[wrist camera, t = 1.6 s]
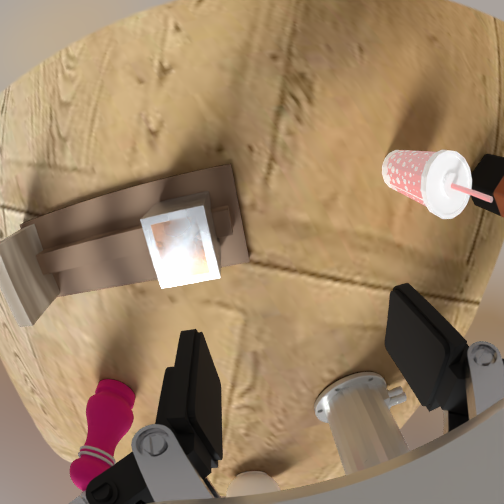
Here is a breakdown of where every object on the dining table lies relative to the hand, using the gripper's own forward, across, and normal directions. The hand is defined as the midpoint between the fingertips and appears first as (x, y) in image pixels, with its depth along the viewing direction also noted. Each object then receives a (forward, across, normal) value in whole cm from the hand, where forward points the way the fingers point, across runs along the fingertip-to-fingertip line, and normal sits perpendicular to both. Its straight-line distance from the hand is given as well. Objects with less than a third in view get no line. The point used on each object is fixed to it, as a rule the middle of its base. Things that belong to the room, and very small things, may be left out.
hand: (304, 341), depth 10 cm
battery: (+20, -32, 0) cm, 37 cm away
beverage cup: (+20, -17, -2) cm, 26 cm away
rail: (+20, +14, 0) cm, 25 cm away
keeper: (+19, +6, 0) cm, 20 cm away
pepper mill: (+20, +26, +23) cm, 40 cm away
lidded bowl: (+20, +10, +59) cm, 63 cm away
